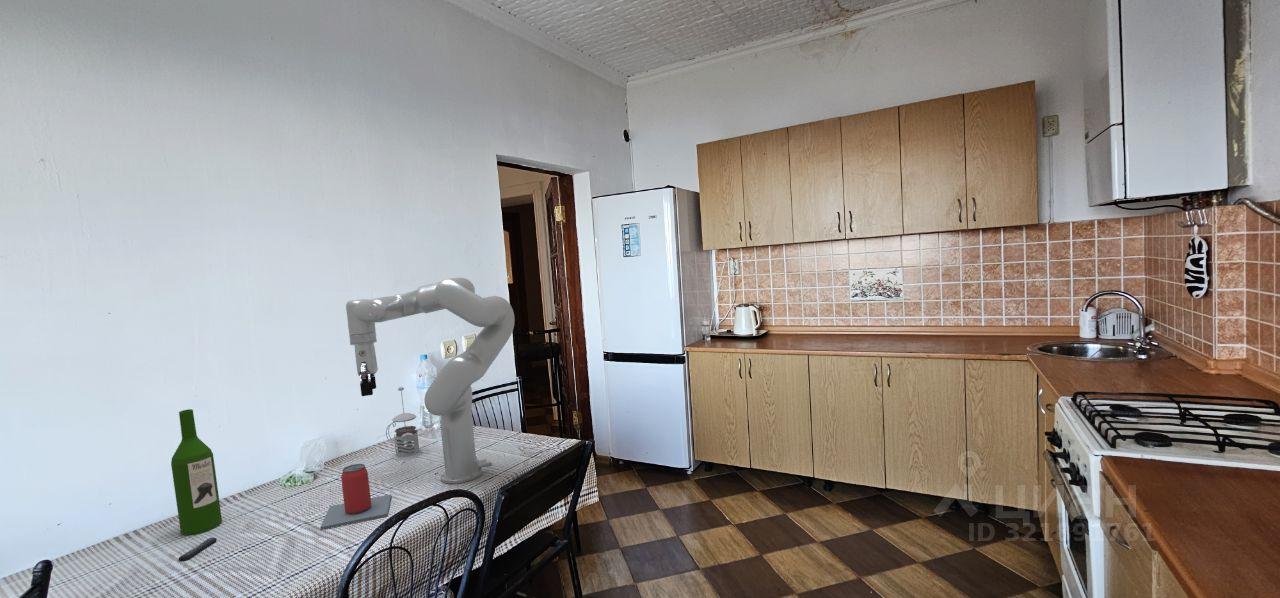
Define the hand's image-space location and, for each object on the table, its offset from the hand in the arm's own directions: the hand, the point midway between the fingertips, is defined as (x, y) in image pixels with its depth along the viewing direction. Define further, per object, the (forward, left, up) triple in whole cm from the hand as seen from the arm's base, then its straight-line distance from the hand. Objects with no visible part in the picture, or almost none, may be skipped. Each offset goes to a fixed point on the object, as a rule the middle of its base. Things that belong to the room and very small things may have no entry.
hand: (369, 392), depth 177 cm
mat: (+3, +25, -28) cm, 38 cm away
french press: (-7, -20, -28) cm, 36 cm away
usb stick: (+38, +29, -29) cm, 56 cm away
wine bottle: (+43, +13, -28) cm, 53 cm away
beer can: (+3, +25, -28) cm, 37 cm away
